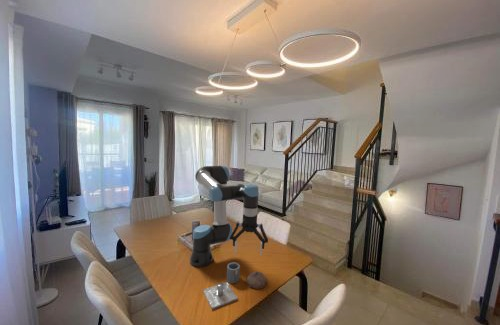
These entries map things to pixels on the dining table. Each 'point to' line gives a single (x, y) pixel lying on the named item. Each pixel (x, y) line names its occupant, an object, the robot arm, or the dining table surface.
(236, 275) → the sleeve
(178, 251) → the dining table surface
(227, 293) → the square plate
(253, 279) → the decorative stone
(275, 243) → the dining table surface
